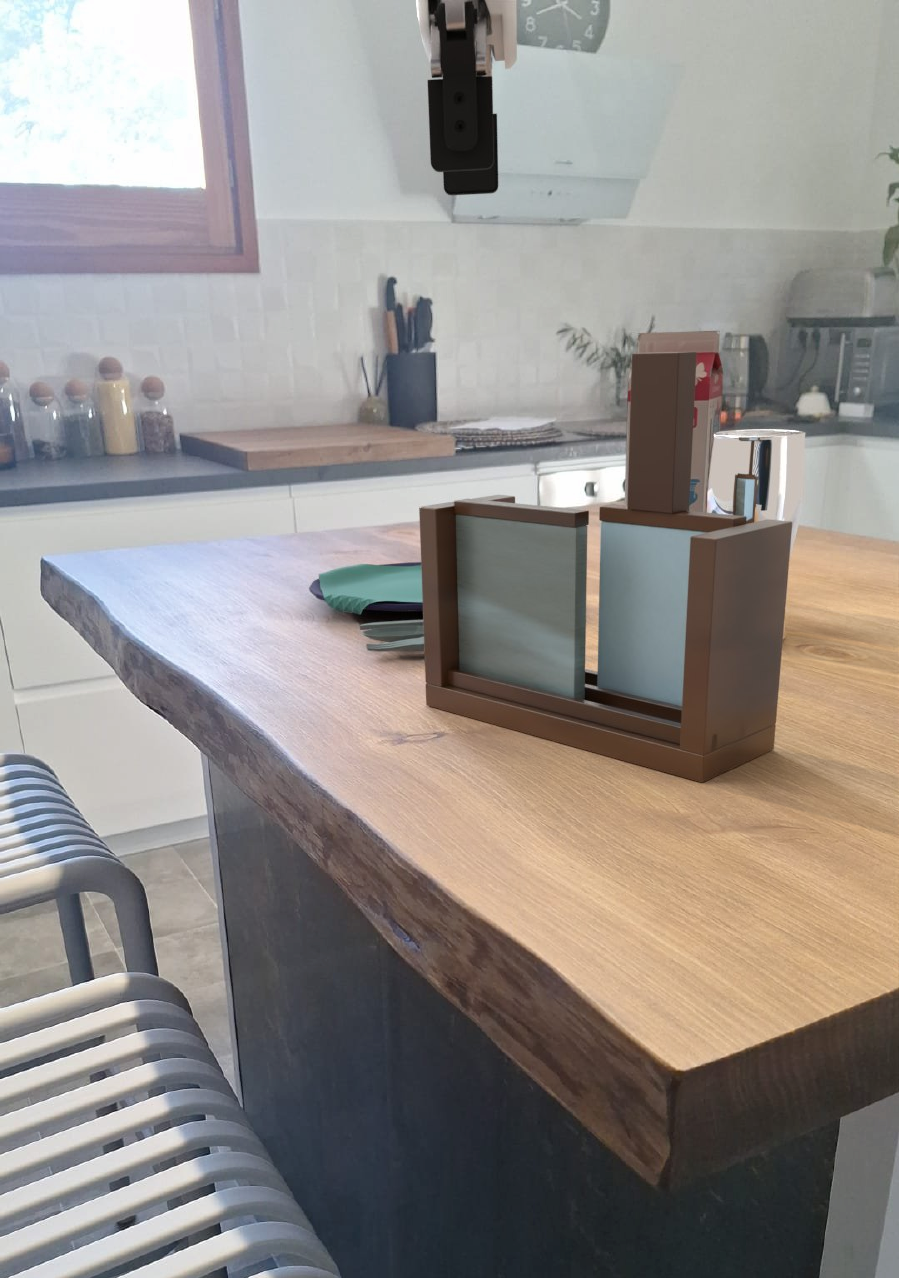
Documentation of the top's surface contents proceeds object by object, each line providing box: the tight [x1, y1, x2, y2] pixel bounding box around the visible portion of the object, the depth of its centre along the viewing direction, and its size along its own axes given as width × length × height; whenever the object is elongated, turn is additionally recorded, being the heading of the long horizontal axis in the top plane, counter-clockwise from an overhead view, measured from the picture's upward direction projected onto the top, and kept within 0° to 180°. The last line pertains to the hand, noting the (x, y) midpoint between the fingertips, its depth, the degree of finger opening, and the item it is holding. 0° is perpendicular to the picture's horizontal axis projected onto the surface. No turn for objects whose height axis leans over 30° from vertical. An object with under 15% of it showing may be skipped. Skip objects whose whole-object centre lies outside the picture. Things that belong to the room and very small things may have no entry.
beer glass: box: [706, 428, 807, 640], centre depth 85 cm, size 7×7×15 cm
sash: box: [597, 352, 747, 706], centre depth 62 cm, size 2×9×19 cm, turn 44°
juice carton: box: [624, 330, 724, 513], centre depth 97 cm, size 7×7×22 cm
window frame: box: [418, 494, 792, 783], centre depth 66 cm, size 7×21×13 cm, turn 44°
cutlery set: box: [308, 561, 424, 652], centre depth 98 cm, size 20×30×2 cm, turn 8°
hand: (467, 182), depth 63 cm, fingers open, 9 cm apart
